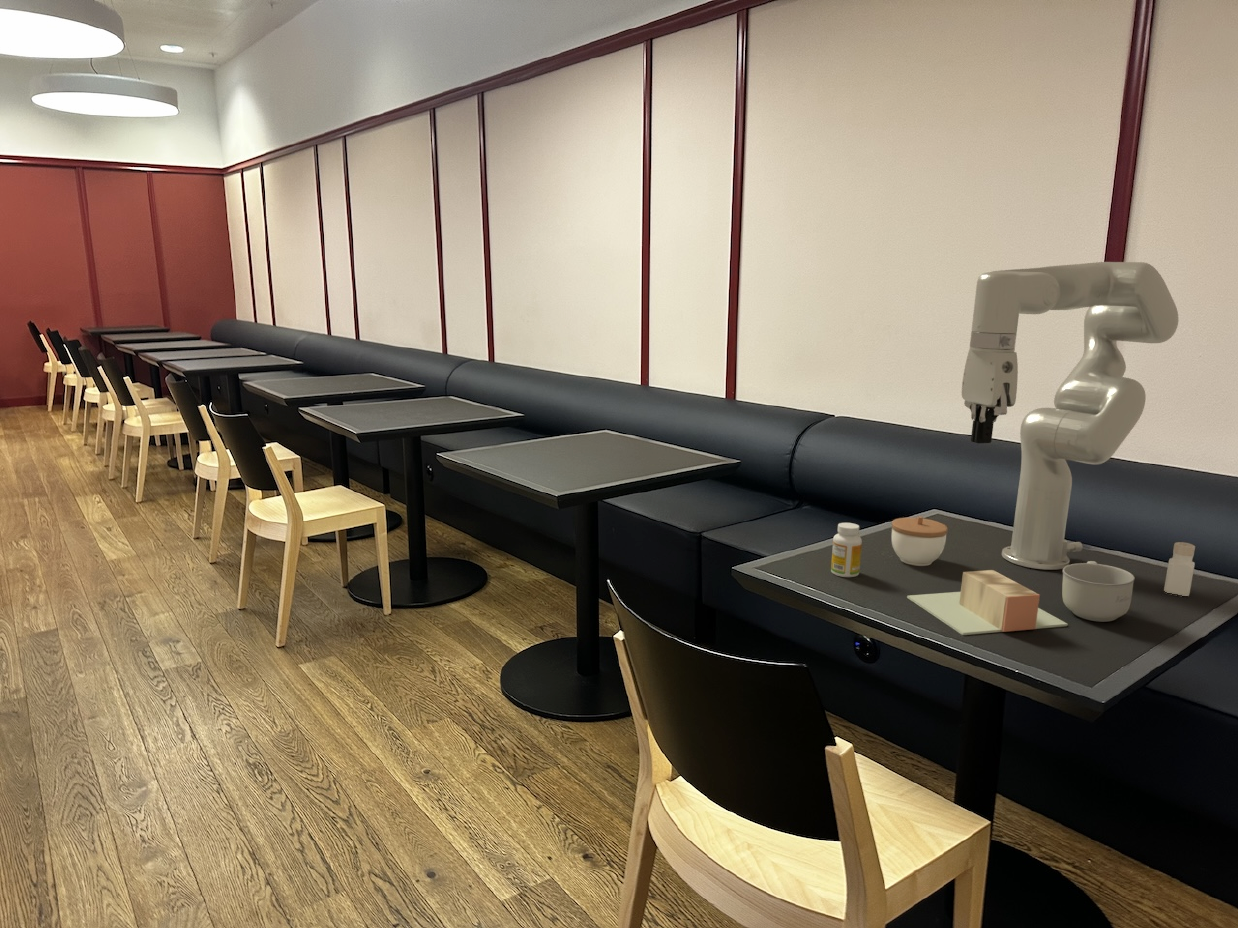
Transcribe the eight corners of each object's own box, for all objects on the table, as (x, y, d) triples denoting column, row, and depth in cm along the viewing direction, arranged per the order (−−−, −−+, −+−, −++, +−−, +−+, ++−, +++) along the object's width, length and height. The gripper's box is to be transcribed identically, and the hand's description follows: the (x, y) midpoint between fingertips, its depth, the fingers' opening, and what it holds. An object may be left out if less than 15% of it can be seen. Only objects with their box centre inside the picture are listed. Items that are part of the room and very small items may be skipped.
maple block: (1035, 628, 142) (988, 601, 154) (1040, 594, 141) (992, 569, 152) (1003, 631, 141) (959, 604, 152) (1008, 597, 140) (963, 572, 151)
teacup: (1126, 633, 143) (1133, 587, 141) (1053, 618, 148) (1060, 574, 146) (1129, 606, 154) (1136, 564, 152) (1062, 593, 160) (1068, 552, 158)
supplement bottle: (856, 569, 170) (860, 522, 168) (861, 578, 165) (865, 530, 163) (828, 567, 171) (832, 520, 169) (832, 577, 166) (836, 528, 164)
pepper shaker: (1164, 587, 164) (1172, 539, 162) (1189, 592, 162) (1198, 544, 160) (1163, 593, 161) (1171, 545, 159) (1188, 598, 159) (1197, 549, 156)
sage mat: (1003, 590, 161) (1003, 588, 160) (1067, 625, 145) (1067, 623, 145) (907, 597, 156) (907, 595, 156) (962, 635, 140) (962, 632, 140)
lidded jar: (912, 549, 183) (917, 507, 181) (955, 564, 174) (960, 520, 172) (877, 557, 178) (881, 513, 176) (919, 573, 169) (924, 527, 167)
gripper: (1039, 346, 149) (1025, 450, 153) (984, 339, 163) (973, 434, 167) (1001, 346, 147) (988, 451, 151) (949, 339, 161) (939, 435, 165)
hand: (980, 442), depth 159 cm, fingers closed
